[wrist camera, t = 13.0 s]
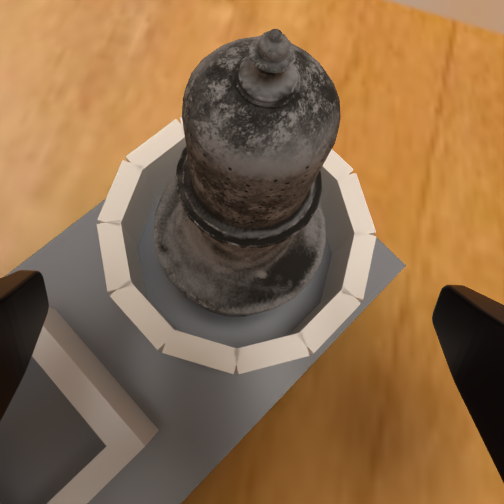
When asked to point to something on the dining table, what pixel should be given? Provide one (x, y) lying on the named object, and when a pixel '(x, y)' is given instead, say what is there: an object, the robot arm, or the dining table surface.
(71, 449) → the socket board
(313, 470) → the dining table surface
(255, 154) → the dark grey tiered column
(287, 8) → the dining table surface
